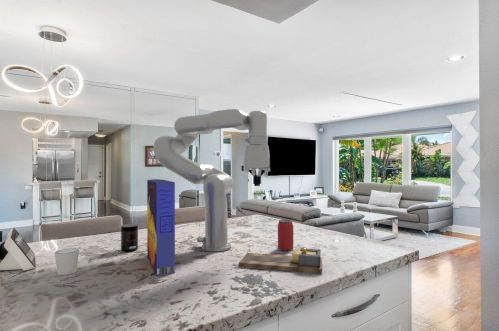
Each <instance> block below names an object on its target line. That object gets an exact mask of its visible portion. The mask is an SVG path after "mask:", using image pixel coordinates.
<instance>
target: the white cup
mask: <svg viewBox="0 0 499 331" xmlns="http://www.w3.org/2000/svg"><path fill="white" fill-rule="evenodd" d="M79 254H80V249H79V248H76V247H75V248H73V247H71V248H64V249H60V250H57V251H56V250H55V252H54V257H55V266H56V274H57V275H58V276H61V275H62V276H66V275H71V274H74V273H76V272H78V271H77V270H78V263H79Z"/></svg>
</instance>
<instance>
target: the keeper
mask: <svg viewBox="0 0 499 331" xmlns="http://www.w3.org/2000/svg"><path fill="white" fill-rule="evenodd" d="M302 248H303V247H300V249H299V251H302ZM307 251H310V252H316V255H313V254H299V266H309V267H320V262H321V258H322V257H321V256H322V255H321V253H322V252H321V251H322V250H321V249H319V248H307Z"/></svg>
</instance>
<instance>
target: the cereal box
mask: <svg viewBox="0 0 499 331" xmlns="http://www.w3.org/2000/svg"><path fill="white" fill-rule="evenodd" d="M146 182H147V183H146V186H147V187H146V190H147V198H146V200H147V203H146V207H147V210H146V212H147V214H146V215H147V218H146V222H147V223H146V224H147V226H146V228H147V230H146V231H147V232H146V234H147V235H146V237H147V238H146V240H147V242H146V243H147V244H146V245H147V259H148V261H149V264H150V266H151V268H152V270H153V273H154V275H155V276H156V277H157V276H164V275H171V274H175V273H176V202H175V201H176V199H175V198H176V195H175V194H176V182H175V181H170V180H166V179H160V178H158V179H157V178H156V179H155V178H154V179H147V180H146Z"/></svg>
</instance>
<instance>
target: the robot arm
mask: <svg viewBox="0 0 499 331" xmlns="http://www.w3.org/2000/svg"><path fill="white" fill-rule="evenodd" d="M267 117H268V116H267V112H265V111H263V110H253V111H252V110H251V111H250V112H249V113H247V112H244V111H242V110H240V109H238V108H229V109H221V110H219V109H218V110H216V111H215V110H214V111H212V112H210V113H205V114H196V115H189V116H181V117H178V118H177V119H176V120H175V121H174V125H173V126H174V131H175V132H176V133H177V135H176V136H172V135H171V136H170V135H162V136H161V135H160V136H159V137H157V138H156V139H155V140H154V143H153V154H154V155H155V158H156V160H157V161H158V163H159V164H160V165H161V166H163V167H164V168H166V169H167V170H169V171H171V172H173V173H174V174H176V175H178V176H179V177H181V178H183V179H185V180H186V181H188V182H189V183H191V184H194V185H203V197H204V218H205V220H204V223H205V224H204V226H205V227H204V234H205V235H204V237H203V236H197V238H196V242H197V243H202V244H201V249H202V250H204V251H206V252H223V251H228V250H230V249H231V248H232V244H231V243H230V242H228V239H229V238H228V236H229V235H228V234H229V233H228V231H229V230H228V199H227V198H228V197H227V194H229V193H230V192H232V190H233V189H234V184H235V182H234V179H233V178H232V176H231V175H229V174H228V173H227V172H224V171H222V170H221V169H219V168H217V167H215V166H213V165H211V164H209V163H206V162H197V161H194V160H192V159H190V158H189V157H186V156H184V155H183V154H184V153H185V152H186V151H187V150H188V149H189V147H191V146H192V144H193V143H194V142H195V141H196V140H197V139H198V137H199V136H200V135H210V134H212V133H213V132H214V131H216V130H222V129H230V128H231V129H232V128H233V129H236V130H238V131H247V130H248V136H247V138H245V139H244V142H246V143H247V144H246V145H245V151H244V159H243V160H244V161H243V163H244V164H243V167H244V171H245V172H247V173H249V174H251V176H252V177H253V178H252V184H253V186H254V187H260V186H261V184H262V176H263V175H264V174H265V173H269V172H271V159H270V158H271V157H270V149H269V145H268V143H267V142H268V140H267V139H268V138H267V136H268V135H267V132H268V128H267V127H268V126H267V125H268V121H267V120H268V118H267ZM257 169H258V172H257Z"/></svg>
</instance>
